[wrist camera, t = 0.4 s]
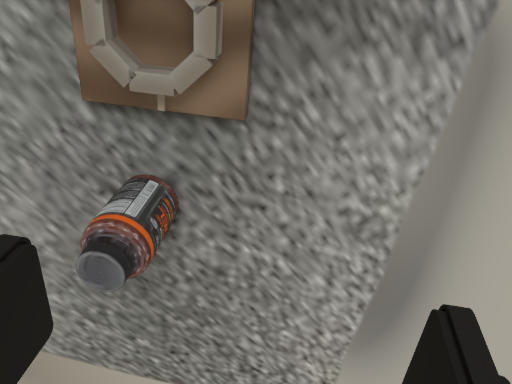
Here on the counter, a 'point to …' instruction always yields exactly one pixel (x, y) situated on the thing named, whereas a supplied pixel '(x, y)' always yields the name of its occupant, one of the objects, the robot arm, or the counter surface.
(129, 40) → the hub board
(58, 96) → the counter surface
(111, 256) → the supplement bottle
